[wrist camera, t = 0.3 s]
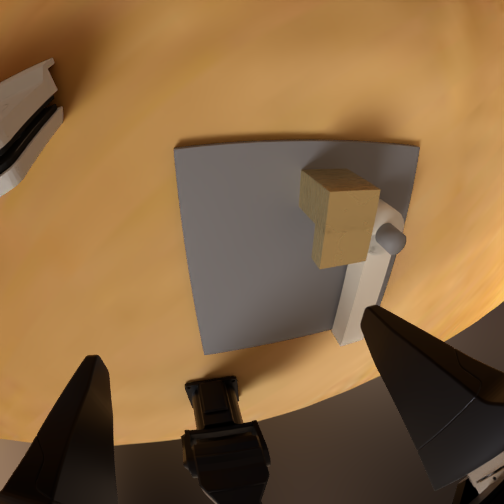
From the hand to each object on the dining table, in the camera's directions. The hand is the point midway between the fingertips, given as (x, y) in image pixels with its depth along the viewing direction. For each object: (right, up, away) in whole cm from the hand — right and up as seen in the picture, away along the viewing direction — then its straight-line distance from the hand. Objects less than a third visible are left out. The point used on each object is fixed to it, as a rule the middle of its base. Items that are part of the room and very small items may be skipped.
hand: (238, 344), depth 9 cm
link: (+11, +1, +19) cm, 22 cm away
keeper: (+6, +7, +15) cm, 17 cm away
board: (+5, +2, +17) cm, 18 cm away
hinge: (-20, +11, +5) cm, 24 cm away
